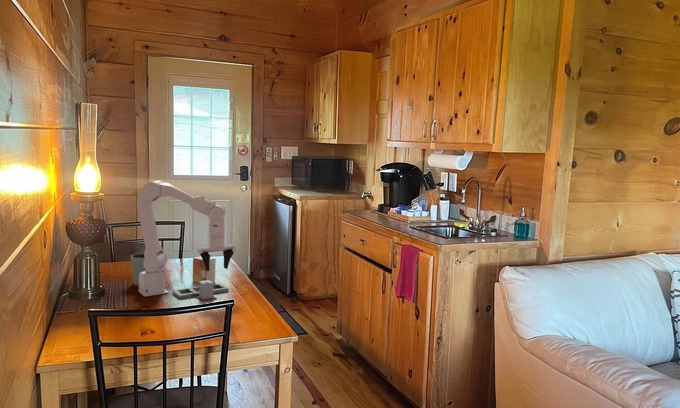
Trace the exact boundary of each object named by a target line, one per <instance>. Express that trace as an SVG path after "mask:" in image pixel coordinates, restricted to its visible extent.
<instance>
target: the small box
mask: <svg viewBox="0 0 680 408" xmlns="http://www.w3.org/2000/svg"><path fill="white" fill-rule="evenodd" d="M206 280H210V281H212V282H213V283H215V282H216V257H210V261H209V271H206V270H205V265H204V262H203V259H202V257H201V255H200V256H196V257H193V258H192V282H195V283H197V284H199V281H206Z"/></svg>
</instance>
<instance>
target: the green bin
mask: <svg viewBox="0 0 680 408" xmlns="http://www.w3.org/2000/svg"><path fill="white" fill-rule="evenodd" d="M144 259H145V257H144V252H138V253H134V254H132V255H130V261H131V267H132V268H131V269H132V275H133V276H132V278H133V285H135V286H137V287H139V273H140V272H144V271H146V269H145V268H144V264H143V263H144Z"/></svg>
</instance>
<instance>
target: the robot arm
mask: <svg viewBox="0 0 680 408" xmlns="http://www.w3.org/2000/svg"><path fill="white" fill-rule="evenodd" d="M161 197H173V198H175V199H177V200H179V201H182V202H184V203H186V204H189V205H190V208H191V209H192V210H193V211H196V212H198V213H199V214H200V213H201V214H203V215H205V216H207V217H208V219H209V225H208V226H209V229H208V230H209V232H208V233H209V234H208V235H209V238H208V239H209V242H208V243H209V244H208V245H207V246H202V247H197V253H198V254H199V255H200V256H201V257H202V259H203V262H204V265H205V270H206V271H209V261H210V258H211V254H210V253H216V252H222V255H223V269H226V270H227V269H229V265H230V261H231V258H232V257H233V255H234V251H235V250H236V244H225V215H226V212H227V211H226V208H225V206H223V205H222V203H217V202H215V201H211V200H209V199H207V198H206V197H205V195H195V196H194V195H191V194H190V193H187V192H186V191H184V190H183V189H180V188H178V187H176V186H174V185H172V184H171V183H168V182H166V181H163V180H160V179H156V180H152V181H147V182H145V184H144V185H142V187H141V188H140V193H139V196H138V198H137V200H136V207H137V211H138V216H139V217H138V218H139V222H140V227H141V233H142V236H143V242H144V246H145V247H144V248H145V249H144V252H143V253H144V257H145V259H144V263H143V264H144V268H145V269H146V271H144V272H140V273H139V286H138V293H140V295H142V296H143V297H150V296H157V295H164V294H169V293H170V292H169V291H168V290H167V289H166V268H165V265H166V263H167V259H168V257H167V255H166V254H165V252H164V250H163V247H162V245H161V244H160V241H159V239H160V238H159V235H158V231H157V224H156V220H155V215H154V209H153V205H154V204H155V202H156V201H157V200H158V199H159V198H161Z"/></svg>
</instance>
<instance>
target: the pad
mask: <svg viewBox="0 0 680 408" xmlns="http://www.w3.org/2000/svg"><path fill="white" fill-rule="evenodd" d="M195 298H196V299H197V300H199V301H200V302H202V303H203V302H207V301H215V300H217V299H218V298H217V297H216V296H214V295H213V298H209V299H202V298H201V297H199V296H196V297H195Z"/></svg>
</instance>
